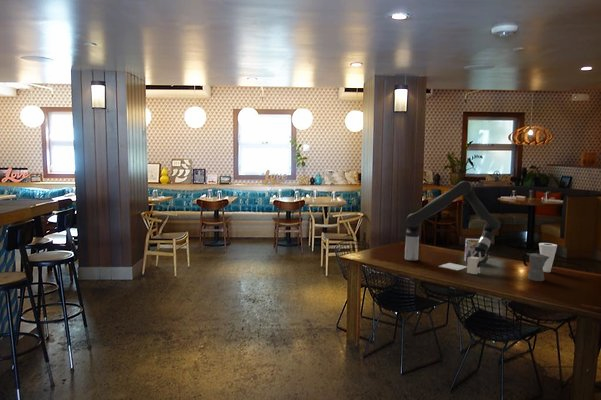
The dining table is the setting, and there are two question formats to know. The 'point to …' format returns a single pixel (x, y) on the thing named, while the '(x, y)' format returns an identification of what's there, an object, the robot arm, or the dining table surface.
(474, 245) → the candy bar box
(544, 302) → the dining table surface
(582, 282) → the dining table surface
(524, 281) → the dining table surface
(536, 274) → the coffeepot
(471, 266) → the beige block
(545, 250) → the cup
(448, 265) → the mat
